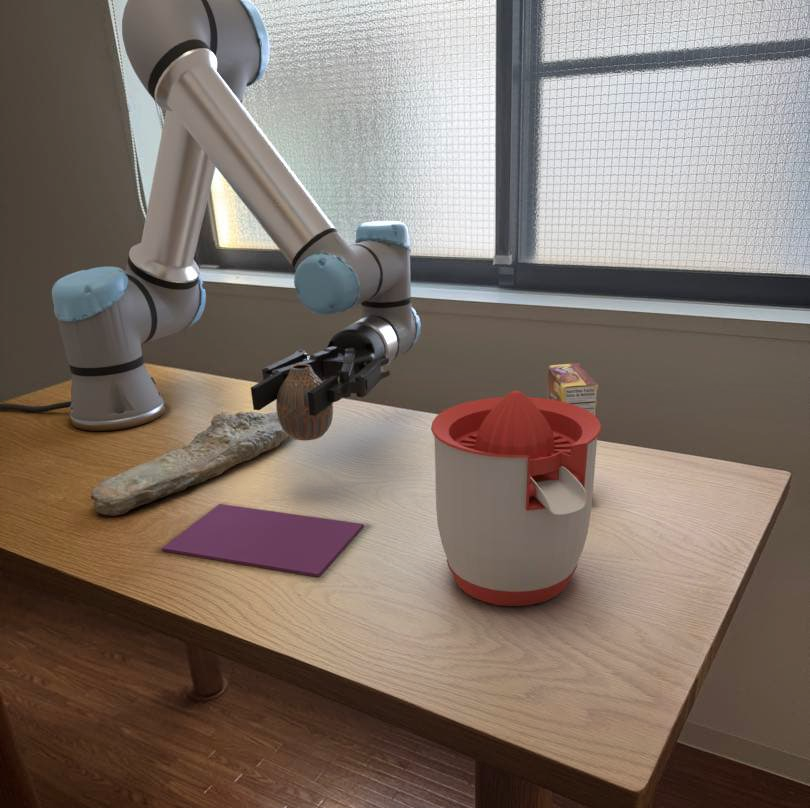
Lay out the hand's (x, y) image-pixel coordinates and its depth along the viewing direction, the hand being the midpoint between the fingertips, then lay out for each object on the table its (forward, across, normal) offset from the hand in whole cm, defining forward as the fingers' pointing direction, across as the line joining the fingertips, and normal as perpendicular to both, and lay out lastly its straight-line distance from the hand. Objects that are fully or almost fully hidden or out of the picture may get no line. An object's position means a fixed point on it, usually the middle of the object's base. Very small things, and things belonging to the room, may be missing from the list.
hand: (282, 401), depth 89 cm
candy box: (-14, -31, -14) cm, 37 cm away
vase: (-5, 0, -6) cm, 8 cm away
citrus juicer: (+9, -30, -14) cm, 34 cm away
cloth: (+8, 0, -14) cm, 16 cm away
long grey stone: (-8, +19, -14) cm, 25 cm away
